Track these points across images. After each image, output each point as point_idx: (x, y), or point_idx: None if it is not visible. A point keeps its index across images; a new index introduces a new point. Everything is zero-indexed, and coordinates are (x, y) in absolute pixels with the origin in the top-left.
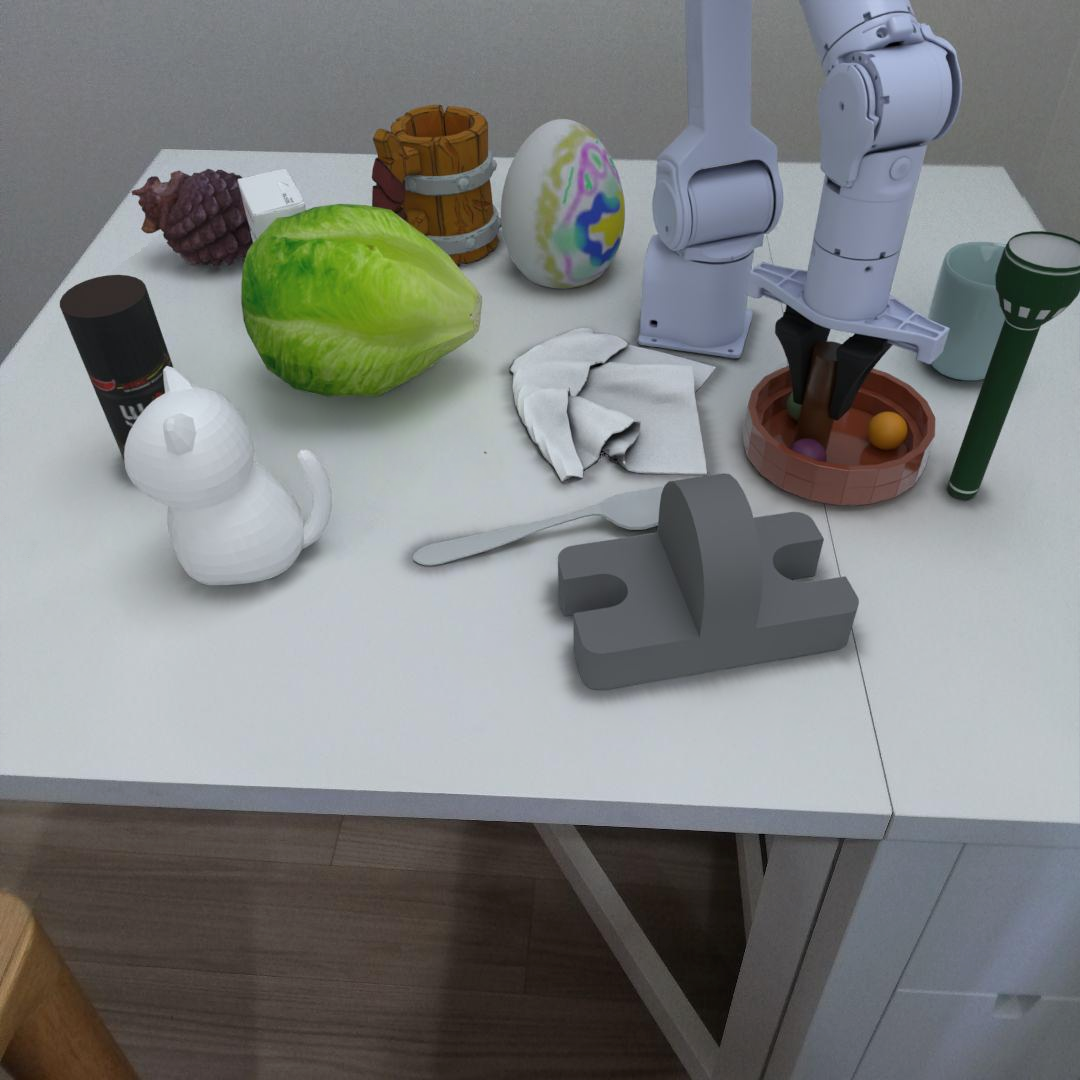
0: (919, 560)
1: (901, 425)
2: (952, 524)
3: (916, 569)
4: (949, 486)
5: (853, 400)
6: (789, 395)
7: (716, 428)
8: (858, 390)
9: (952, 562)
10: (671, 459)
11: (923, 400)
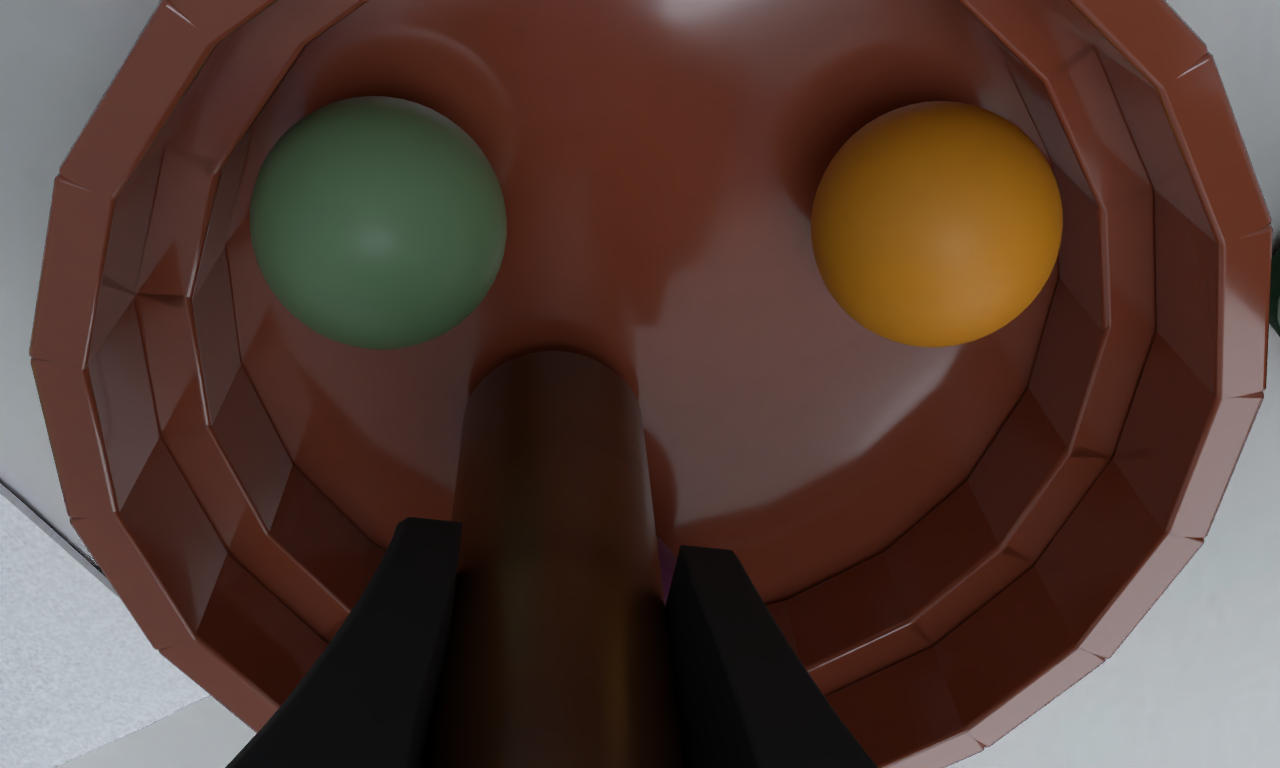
0: (1143, 688)
1: (1037, 287)
2: (1271, 477)
3: (1135, 724)
4: (1276, 330)
5: (754, 586)
6: (252, 245)
7: (31, 405)
8: (783, 635)
9: (1263, 647)
10: (37, 691)
11: (1186, 63)
